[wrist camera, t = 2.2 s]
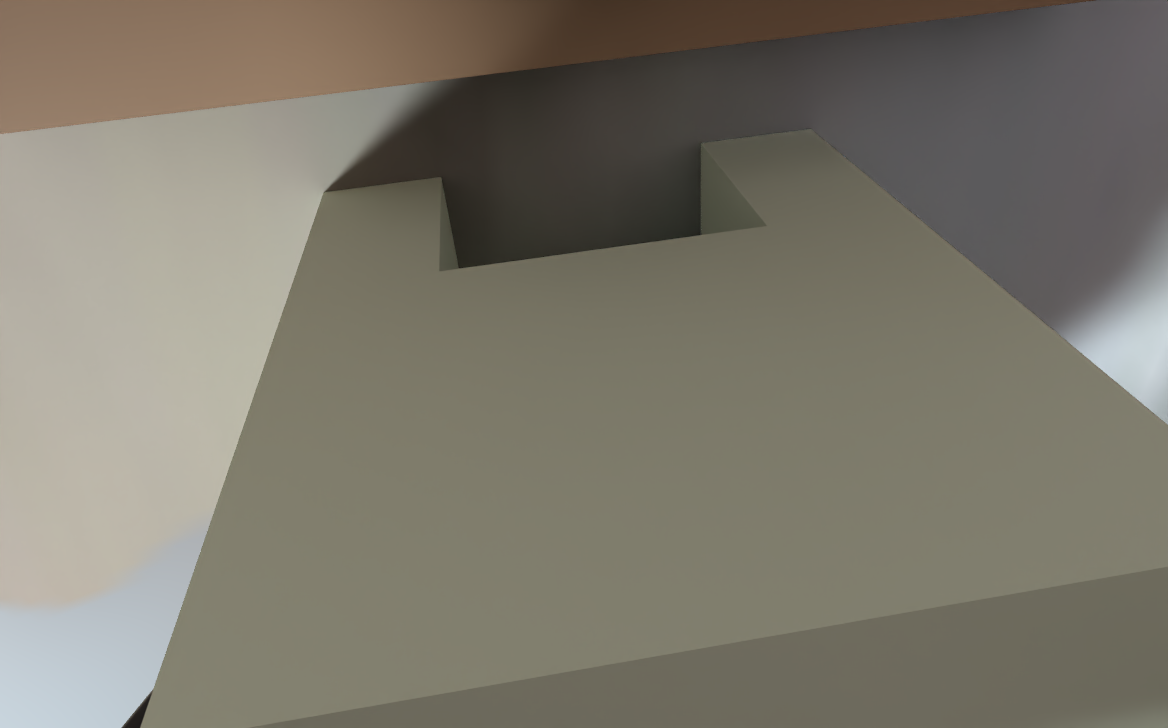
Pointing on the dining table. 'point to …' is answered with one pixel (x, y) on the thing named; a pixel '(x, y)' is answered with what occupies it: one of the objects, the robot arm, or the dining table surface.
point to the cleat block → (677, 484)
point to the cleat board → (366, 44)
